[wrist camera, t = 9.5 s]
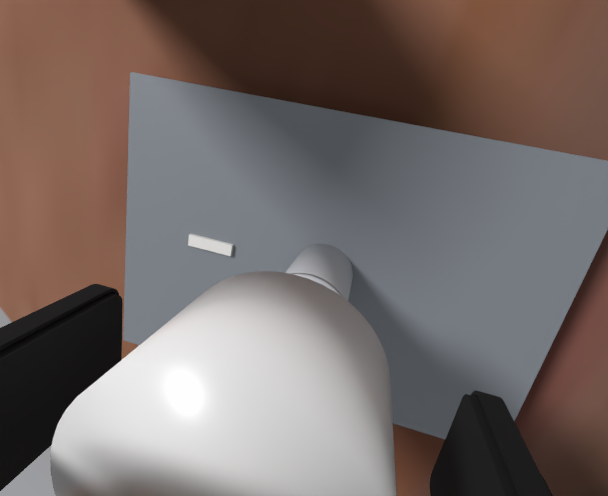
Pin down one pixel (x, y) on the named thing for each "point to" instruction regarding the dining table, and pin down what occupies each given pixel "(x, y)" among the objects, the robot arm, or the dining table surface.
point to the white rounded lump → (239, 402)
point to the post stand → (364, 231)
